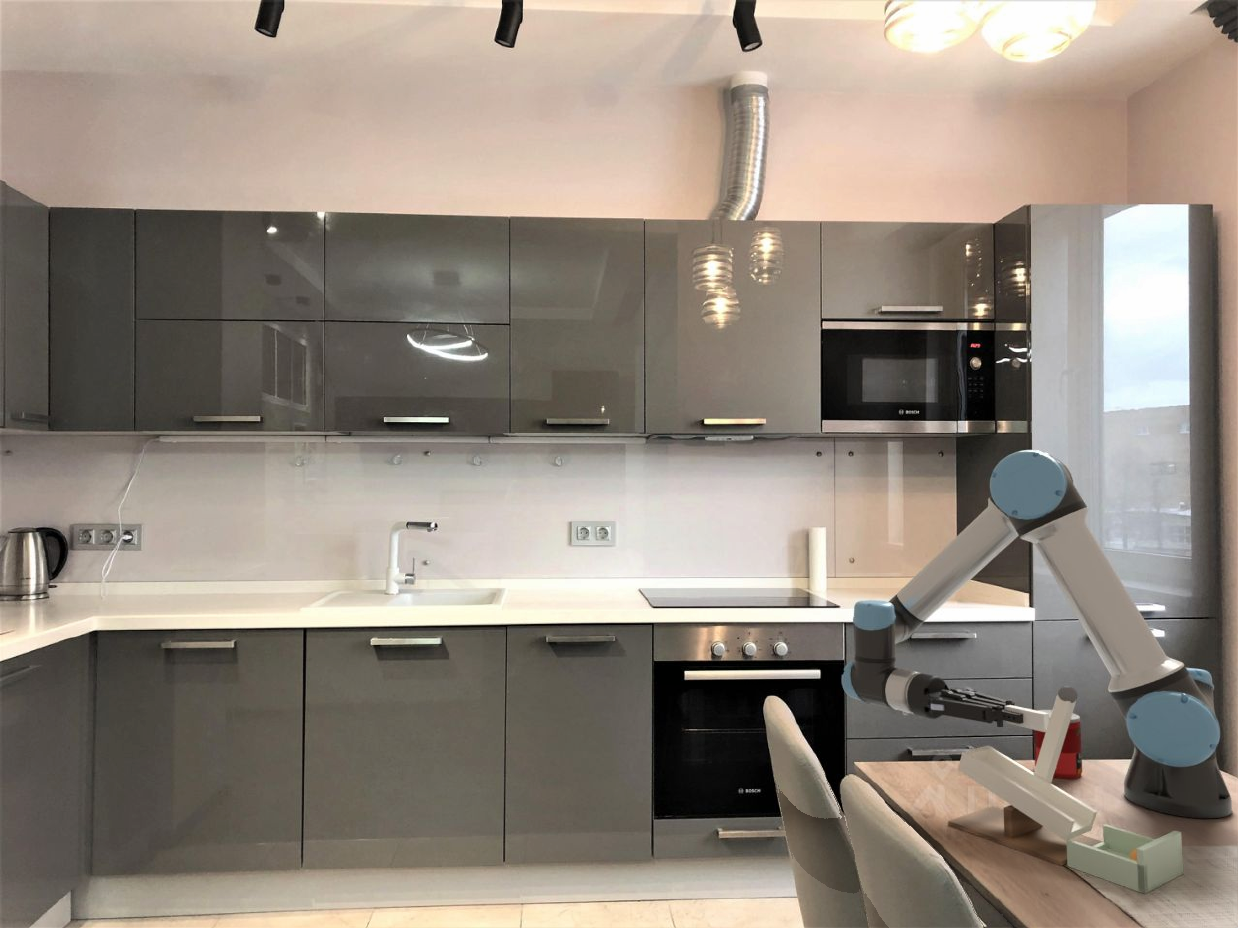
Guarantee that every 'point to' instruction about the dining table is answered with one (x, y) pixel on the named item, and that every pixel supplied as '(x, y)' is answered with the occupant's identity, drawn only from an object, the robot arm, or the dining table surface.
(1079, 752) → the canned food
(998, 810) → the stand
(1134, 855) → the ball
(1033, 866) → the dining table surface
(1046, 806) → the seesaw
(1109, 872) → the tray
